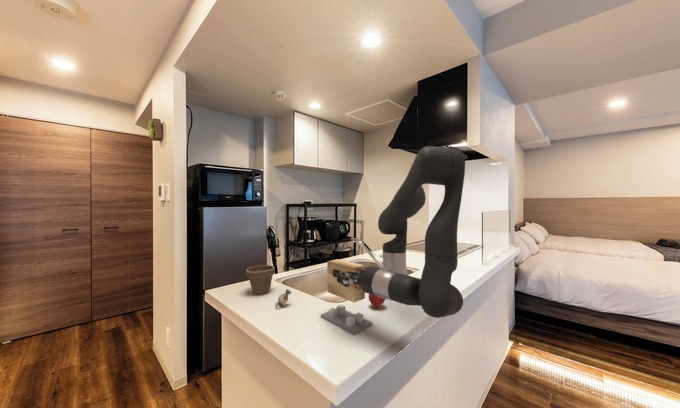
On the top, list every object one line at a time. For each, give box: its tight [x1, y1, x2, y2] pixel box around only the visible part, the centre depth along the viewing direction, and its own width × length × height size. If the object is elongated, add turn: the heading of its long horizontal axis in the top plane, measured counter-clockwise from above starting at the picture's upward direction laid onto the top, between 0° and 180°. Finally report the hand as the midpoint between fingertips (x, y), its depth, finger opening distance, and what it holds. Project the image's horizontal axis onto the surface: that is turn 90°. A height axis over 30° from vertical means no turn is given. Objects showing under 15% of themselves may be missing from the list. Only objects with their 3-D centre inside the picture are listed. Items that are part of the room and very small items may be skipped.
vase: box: [275, 288, 292, 310], centre depth 90 cm, size 5×5×6 cm
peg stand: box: [320, 304, 373, 335], centre depth 79 cm, size 8×15×3 cm, turn 43°
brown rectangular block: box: [326, 259, 366, 303], centre depth 78 cm, size 4×12×10 cm, turn 43°
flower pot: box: [245, 264, 276, 296], centre depth 104 cm, size 12×11×10 cm
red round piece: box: [367, 294, 386, 308], centre depth 89 cm, size 6×6×8 cm
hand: (339, 271), depth 80 cm, fingers closed on brown rectangular block, 4 cm apart
